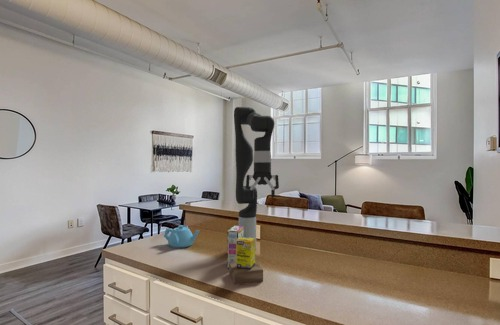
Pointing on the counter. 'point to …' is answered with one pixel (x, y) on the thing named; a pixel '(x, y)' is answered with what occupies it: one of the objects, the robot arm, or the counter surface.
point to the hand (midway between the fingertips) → (262, 198)
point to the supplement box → (245, 252)
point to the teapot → (180, 236)
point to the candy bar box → (233, 243)
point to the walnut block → (245, 274)
